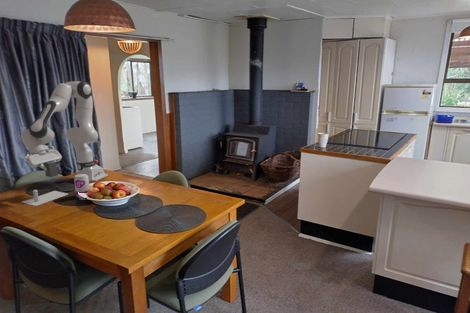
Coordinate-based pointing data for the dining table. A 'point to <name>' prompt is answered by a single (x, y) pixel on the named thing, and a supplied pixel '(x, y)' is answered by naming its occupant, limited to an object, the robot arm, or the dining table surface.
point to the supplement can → (81, 184)
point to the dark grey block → (51, 169)
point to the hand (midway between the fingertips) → (51, 168)
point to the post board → (44, 197)
